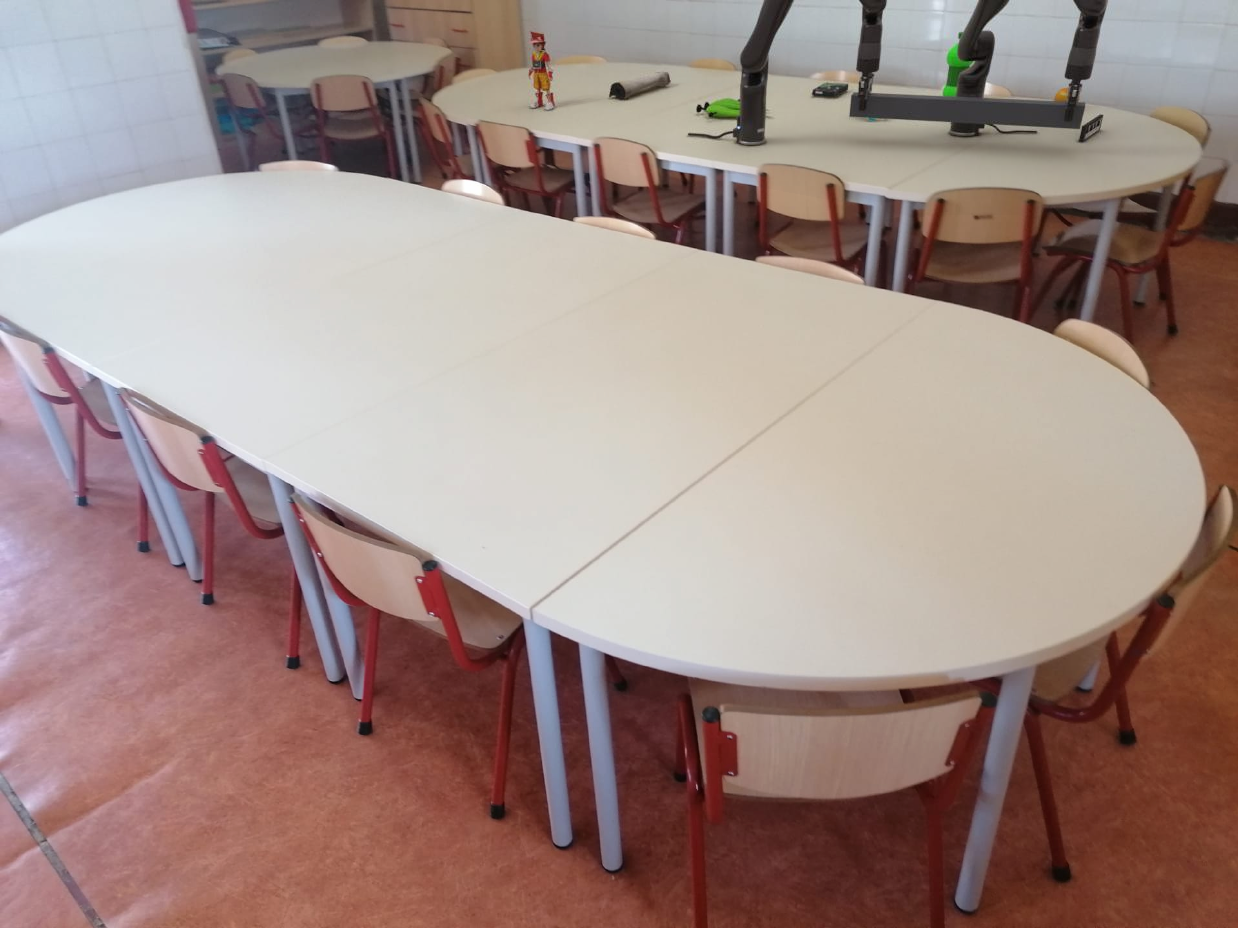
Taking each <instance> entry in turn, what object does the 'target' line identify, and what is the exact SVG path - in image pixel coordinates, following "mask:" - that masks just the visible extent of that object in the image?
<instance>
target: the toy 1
mask: <svg viewBox="0 0 1238 928" xmlns="http://www.w3.org/2000/svg"><path fill="white" fill-rule="evenodd" d="M529 33H530V35H531V36H528V37H527V38H528V39H529V40H528V41H527V43H529V44H530V43H531V44H532V48H533V50H534V51H533V52H532V55H531V58H530V59H531V63H530V66H528V74H527V75H528V76H527V77H528V79H529V80H531V75H532V74H533V84H532V85H533V86H532V87H533V88H534V89H535V90H536V92H534V95H535V97H536V100H535V101H533V102H531V105H530V108H531V109H535V108H538V107H542V106H544V101H543V100H544V99H543V95H544V92H546V94H545V97H546V99H547V103H546V104H545V106H544V110H546V111H549V110H553V109H554V107H555V106H556V105H555V99H554V92H551V91H550V90H551V86H552V84H551V82H552V81H553V80H554V77H553V73H554V71H555V70H554V69H552V68H551V63H550V61H551V59H550V58H551V57H550V54H549V53H548V52H547V50H546V48H545V46H546V44H547V41H545V35H544V33H543V32H542V33H539V32H535V31H529Z"/></svg>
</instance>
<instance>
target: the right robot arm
mask: <svg viewBox="0 0 1238 928" xmlns="http://www.w3.org/2000/svg"><path fill="white" fill-rule="evenodd" d="M1072 1H1073V3H1074V4H1075V6H1076V7H1077V9H1078V11H1079V13H1080V14H1079V19H1078V24H1077V26H1076V28H1075V32H1074V35H1073V39H1072V44H1071V47H1070V51H1069V53H1068V58H1067V63H1066V67H1065V70H1064V78H1065V79H1067V80H1069V81H1070V80H1071V81H1070V82H1069V83H1068V86H1067V88H1068V93H1067V99H1066V100H1067V102H1068V103H1067V106H1066V113H1065V118H1064V121H1071V120H1072V116H1073V112H1074V109H1075V107H1076V102H1077V101H1078V99H1079V100H1080V95H1081V92H1082V90H1083V83H1081V81H1087V80H1089V79H1091V77H1092V72H1093V70H1094V69H1093V68H1094V64H1095V61H1096V55H1097V49H1098V48H1097V47H1098V44H1099V39H1100V35H1101V27H1102V24H1103V21H1104V18H1105V14H1106V10H1107V7H1108V3H1109V0H1072ZM1009 2H1010V0H978V1H977V3H976V5H975V8H974V9H973V12H972V14H971V16H970V17H969V20H968V22H967V25H966V26H965V27H964V29H963V31H962V32H963V34H962V36H961V38H960V40H959V39H958V42H957V43H958V48H957V56H958V58H959V60H961V61H964V62H970V61H973V63H972V64H971V65H970V67H969V68H968V69H966V70H964V71H962V72H961V73H960V74H959V77H958V83H957V90H956V96H955V97H974V98H984V96H985V90H986V83H987V79H988V76H989V74H990V71H991V65H992V60H993V56H994V54H995V53H994V52H995V46H996V37H995V34H994V32H993V31H992V30H987V29H986V30H984V28H985V27H986V26H987V25H988V24H989V22H990V21H992V20H993V19H994V18H995V17H996V16H997V15H998V14H1000V12H1001V11H1003V9H1004V8H1005V7H1006V6H1007V5H1008V4H1009ZM1069 102H1074V104H1069ZM1078 102H1079V101H1078ZM985 126H988V127H992V128H994V129H995V130H996V131H997V132H998V133H1000V134H1015V133H1022V134H1023V133H1025V134H1028V133H1029V134H1032V133H1033V134H1037V133H1038V130H1009V131H1007V130H1005V131H1004V130H1001V129H1000V128H999V127H998V125H993V124H975V123H956V122H950V129H949V134H950V135H952V136H956V137H973V136H979V131H980V130H981V129H982V130H983V129H985Z"/></svg>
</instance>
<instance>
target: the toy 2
mask: <svg viewBox="0 0 1238 928" xmlns="http://www.w3.org/2000/svg"><path fill="white" fill-rule="evenodd" d="M702 111H705V112H706V114H707V115H708V117H709V118H713V117H715V118H716V117H717V118H724V117H725V118H737V115H739V114H740V98H738V99H734V98H729V97H727V98H722V99H717V100H715V101H713V102H711V103H710V102H709V101H705V102H704V105H703V106H702V104H700V103H699V104H697V105H696V113H698V114H699V113H701V112H702ZM766 112H770V110H769V109H767V108H766ZM766 118H771V116H769V115H766Z"/></svg>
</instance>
